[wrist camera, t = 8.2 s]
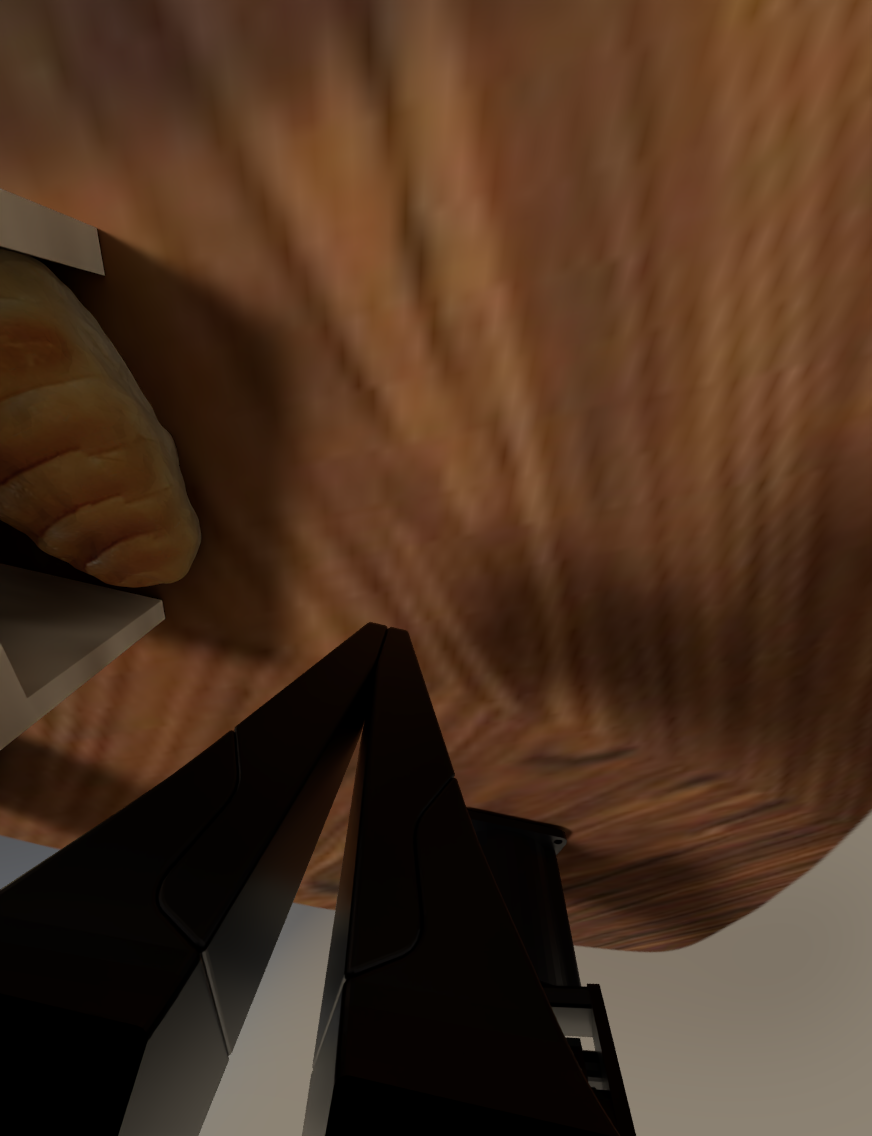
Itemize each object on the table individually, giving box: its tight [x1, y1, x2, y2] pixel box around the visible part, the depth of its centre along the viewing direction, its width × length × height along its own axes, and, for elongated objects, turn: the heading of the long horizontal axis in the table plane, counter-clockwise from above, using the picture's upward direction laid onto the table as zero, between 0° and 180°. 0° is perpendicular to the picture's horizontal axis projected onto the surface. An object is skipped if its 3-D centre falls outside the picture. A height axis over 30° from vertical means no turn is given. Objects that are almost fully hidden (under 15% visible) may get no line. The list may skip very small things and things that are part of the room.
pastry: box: [0, 248, 201, 588], centre depth 11 cm, size 9×7×4 cm
